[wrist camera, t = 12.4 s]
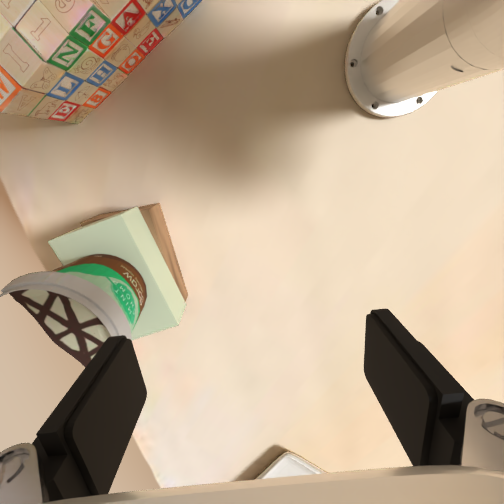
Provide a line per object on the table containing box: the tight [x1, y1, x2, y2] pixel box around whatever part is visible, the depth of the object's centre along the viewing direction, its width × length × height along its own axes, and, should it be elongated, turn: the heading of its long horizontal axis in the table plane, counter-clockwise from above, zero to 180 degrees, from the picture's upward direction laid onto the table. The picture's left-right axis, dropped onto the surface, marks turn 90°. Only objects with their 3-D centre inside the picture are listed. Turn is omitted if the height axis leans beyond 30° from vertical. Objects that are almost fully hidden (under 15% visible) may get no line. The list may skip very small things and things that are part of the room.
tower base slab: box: [81, 203, 188, 301], centre depth 40 cm, size 9×15×5 cm, turn 11°
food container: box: [0, 254, 147, 367], centre depth 28 cm, size 12×6×10 cm, turn 31°
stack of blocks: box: [0, 0, 202, 124], centre depth 27 cm, size 21×6×12 cm, turn 128°
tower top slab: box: [48, 206, 186, 340], centre depth 35 cm, size 9×15×5 cm, turn 19°
